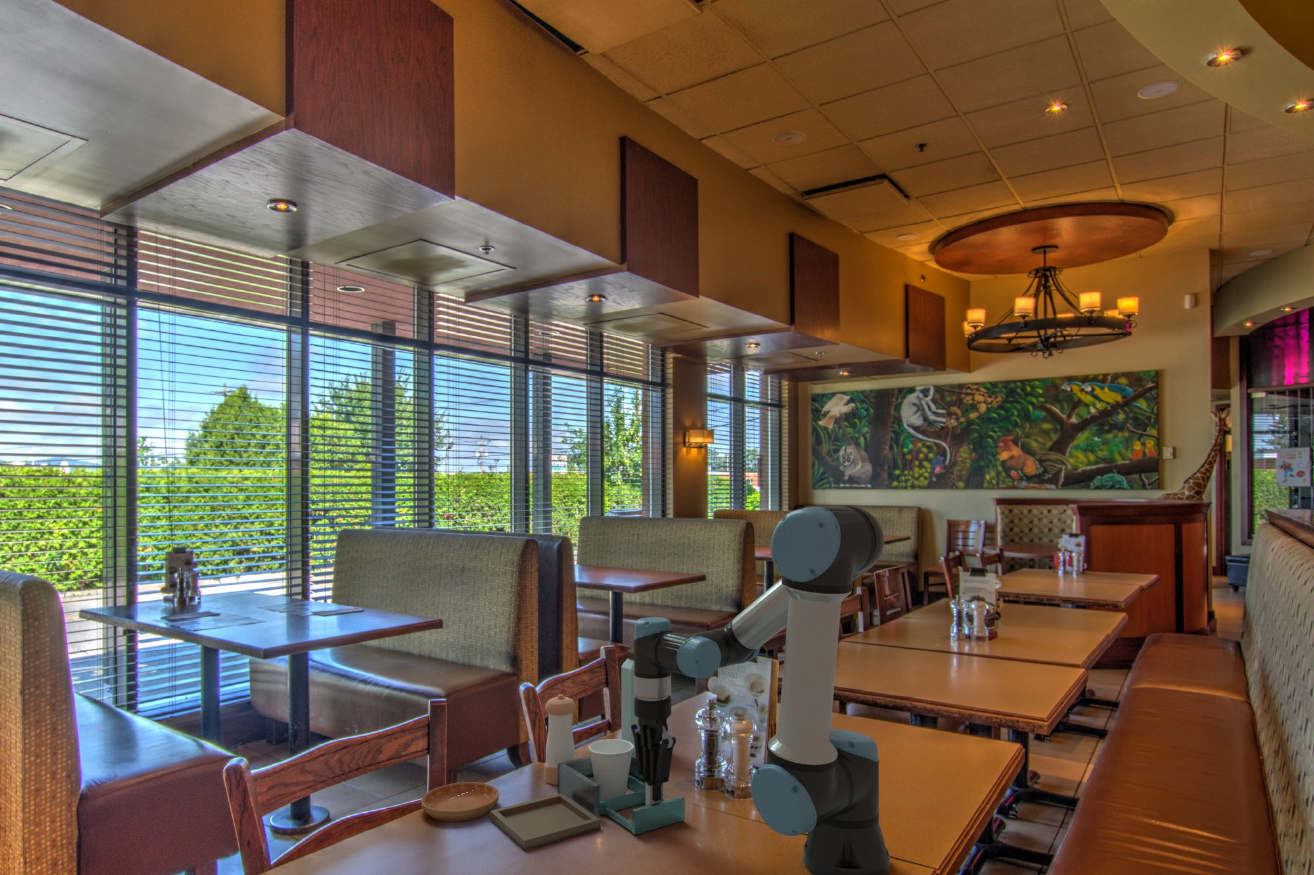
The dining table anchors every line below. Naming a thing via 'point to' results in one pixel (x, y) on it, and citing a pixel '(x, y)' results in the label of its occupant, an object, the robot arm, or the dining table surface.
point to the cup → (611, 766)
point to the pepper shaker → (559, 736)
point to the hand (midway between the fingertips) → (653, 815)
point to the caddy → (643, 809)
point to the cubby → (586, 782)
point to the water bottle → (628, 699)
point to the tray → (544, 821)
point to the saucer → (460, 801)
